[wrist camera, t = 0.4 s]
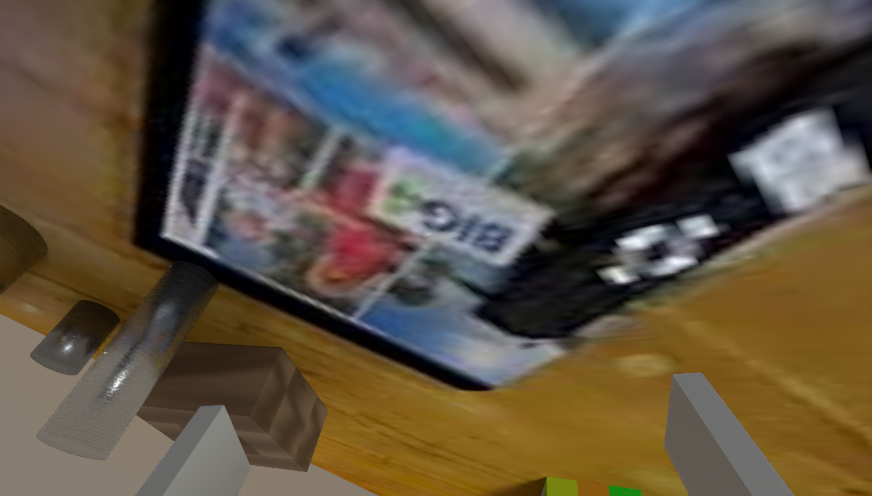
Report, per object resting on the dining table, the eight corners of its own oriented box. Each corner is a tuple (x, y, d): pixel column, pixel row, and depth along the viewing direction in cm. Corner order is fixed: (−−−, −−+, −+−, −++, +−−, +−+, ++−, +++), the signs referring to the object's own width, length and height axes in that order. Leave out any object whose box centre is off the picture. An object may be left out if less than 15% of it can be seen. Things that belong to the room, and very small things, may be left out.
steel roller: (160, 260, 30) (20, 430, 22) (202, 261, 30) (74, 437, 21) (187, 292, 33) (70, 456, 25) (227, 293, 32) (120, 463, 24)
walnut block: (163, 341, 39) (120, 403, 35) (281, 348, 37) (249, 416, 33) (227, 401, 48) (198, 458, 44) (327, 410, 45) (307, 471, 41)
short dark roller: (67, 299, 37) (19, 350, 33) (100, 300, 36) (55, 353, 33) (96, 323, 39) (54, 373, 36) (128, 325, 38) (88, 376, 35)
